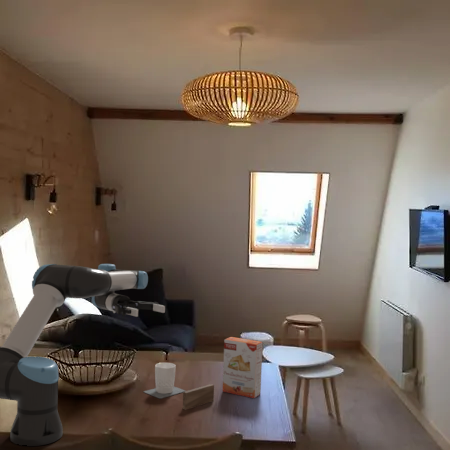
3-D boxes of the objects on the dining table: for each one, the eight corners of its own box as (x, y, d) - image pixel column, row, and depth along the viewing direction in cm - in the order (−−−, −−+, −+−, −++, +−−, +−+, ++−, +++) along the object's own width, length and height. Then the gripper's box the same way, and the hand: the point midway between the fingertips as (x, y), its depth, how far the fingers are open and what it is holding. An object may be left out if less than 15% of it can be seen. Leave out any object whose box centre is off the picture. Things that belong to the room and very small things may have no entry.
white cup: (171, 395, 215) (172, 369, 215) (151, 393, 216) (152, 367, 216) (177, 389, 223) (178, 363, 222) (158, 387, 224) (158, 361, 224)
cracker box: (221, 392, 222) (223, 338, 221) (228, 388, 227) (230, 335, 226) (254, 399, 215) (256, 344, 214) (261, 394, 220) (263, 341, 220)
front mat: (186, 391, 221) (186, 390, 221) (160, 398, 211) (160, 398, 211) (169, 385, 228) (169, 384, 228) (143, 392, 218) (143, 391, 218)
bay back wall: (213, 400, 211) (214, 384, 211) (185, 409, 201) (186, 392, 201) (210, 399, 212) (211, 383, 212) (182, 408, 202) (183, 391, 202)
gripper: (142, 309, 249) (174, 317, 235) (93, 315, 231) (125, 324, 216) (142, 292, 249) (175, 298, 234) (93, 297, 231) (125, 304, 216)
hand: (151, 311), depth 225 cm, fingers open, 13 cm apart
